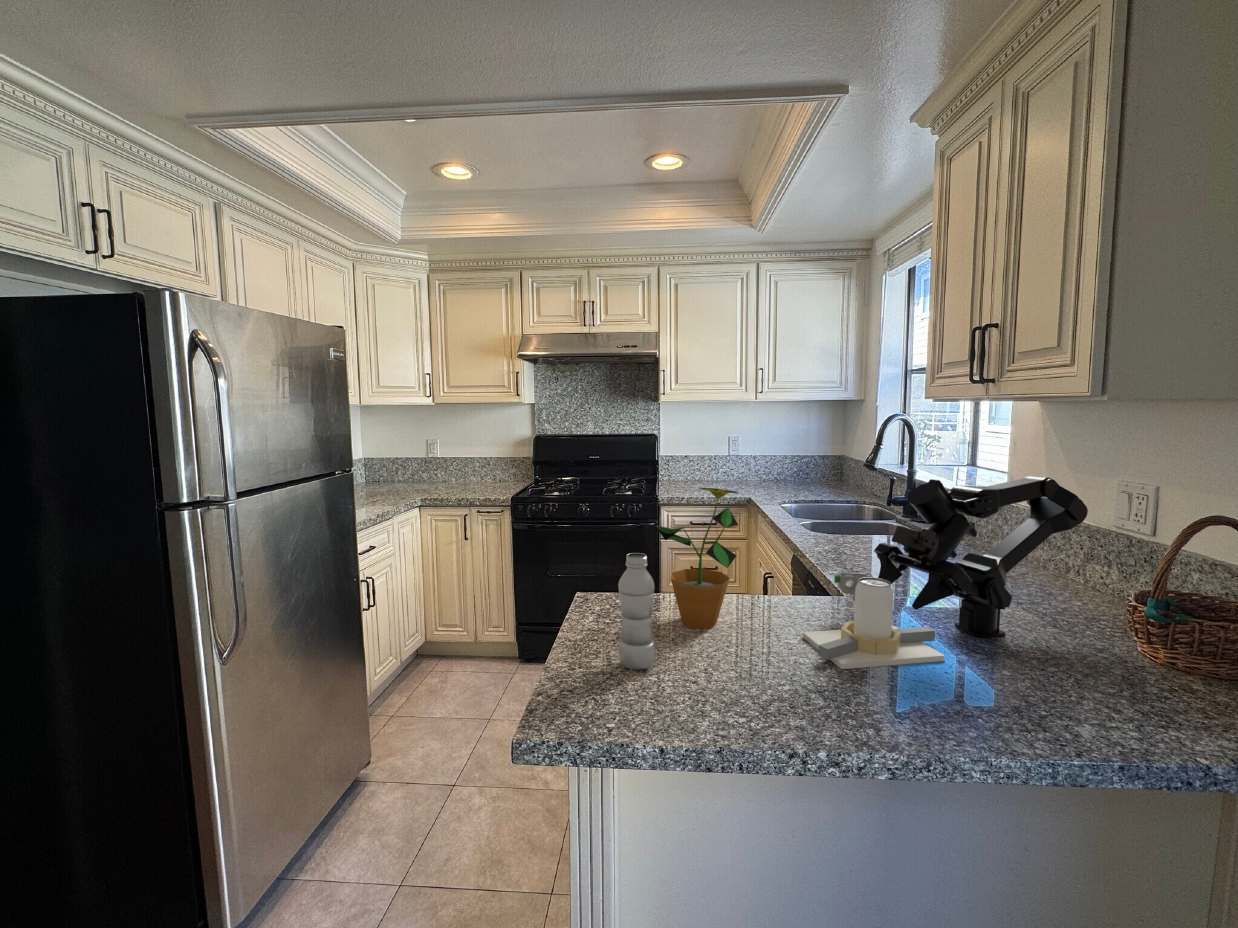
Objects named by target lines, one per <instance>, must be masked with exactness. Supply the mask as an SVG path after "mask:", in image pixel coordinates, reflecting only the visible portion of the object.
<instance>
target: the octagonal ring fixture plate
mask: <svg viewBox="0 0 1238 928" xmlns="http://www.w3.org/2000/svg"><path fill="white" fill-rule="evenodd" d="M802 638H804V639H805V640H806V641H807V642H808V643H809V644H811V646H813V647H814V648H815V649H816V650H817V651H818V657H820V658H823V659H824V660H826V661H831V662H832V663H833V664H834V665H835V666H837V667H838V668H839V669H840V670H849V669H860V668H861V669H862V668H872V667H886V666H887V667H888V666H898V665H911V664H912V665H913V664H922V663H923V664H924V663H934V662H935V663H937V662H945V655H944V654H943V653H941V652H939V651H938V650H936V649H934V648H933V647H931V646H929V645H927V644H925V643H924V642H935V640H936V630H934V629H932V628H931V627H929V626H921V627H920V626H919V627H917V626H916V627H905V628H900V627H897V626H895V625H892V635H891V639H878V640H875V639H870V638H866V637H861V636H857V635H855V634H854V620H852V621H851V620H850V621H845V623H844V624H843V625H842V626H841V629H830V630H828V629H827V630H818V631H817V630H814V631H803V632H802Z"/></svg>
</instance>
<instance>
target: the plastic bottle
mask: <svg viewBox="0 0 1238 928" xmlns="http://www.w3.org/2000/svg"><path fill="white" fill-rule="evenodd" d="M625 560H626V561H625V567H626V569H625V571H624V572H623V574H622V575H621V577H620V579H619V580H618V583H617V586H618V594H619V601H620V610H621V627H620V628H621V629H620V630H621V631H620V639H619V645H618V658H619V661H620V663H621V664H622V666H623V667H624V668H627V669H629V670H633V671H640V670H641V671H644V670H646V669H649V668H650V667H651V666H652V664H654V661H655V656H656V648H655V641H654V639H653V636H654V635H653V626H652V625H653V624H652V621H653V620H652V619H653V616H652V615H653V603H654V595H655V586H656V585H655V582H654V579H653V577H652V576H651V574H650V572H649V571H648V570H647V567H648V556H647V554H645V553H642V552H641V553H640V552H630V553H628V554H626V559H625Z"/></svg>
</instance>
